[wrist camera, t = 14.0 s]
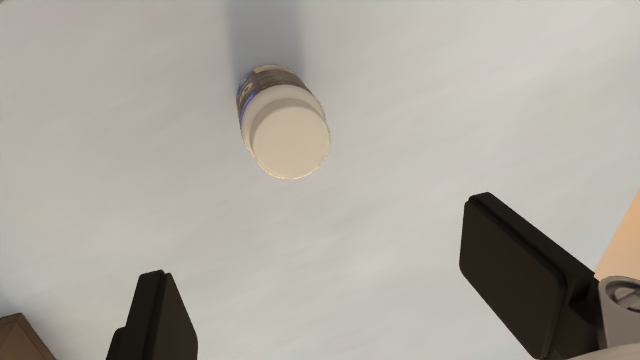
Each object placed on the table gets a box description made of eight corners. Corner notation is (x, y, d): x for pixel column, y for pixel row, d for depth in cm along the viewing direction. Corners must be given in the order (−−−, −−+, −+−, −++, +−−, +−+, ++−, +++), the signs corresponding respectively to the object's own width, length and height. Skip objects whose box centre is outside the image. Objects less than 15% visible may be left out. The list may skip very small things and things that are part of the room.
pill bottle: (232, 64, 24) (239, 99, 17) (303, 62, 25) (339, 93, 18) (239, 134, 26) (248, 191, 19) (304, 129, 27) (336, 181, 20)
